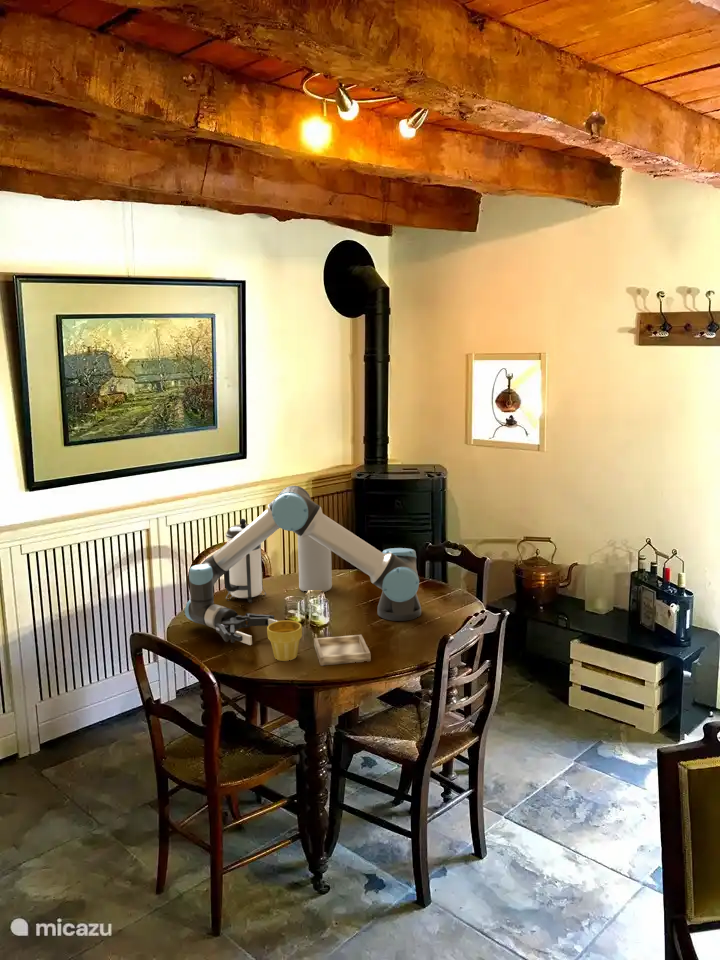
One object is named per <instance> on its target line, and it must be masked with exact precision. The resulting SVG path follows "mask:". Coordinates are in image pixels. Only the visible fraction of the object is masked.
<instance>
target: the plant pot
mask: <svg viewBox="0 0 720 960" xmlns="http://www.w3.org/2000/svg"><path fill="white" fill-rule="evenodd" d="M266 633H267V639H268V640H269V641H270V643H271V649H272V653H273V656H274V658H275V660H276V659H277V660H276V661H279V662H289V660H290V661H292V660H295V659H296V658H297V656H298V651H299V645H300V639H302V637H303V625H302V623H301V622H298V621H295V620H288V619H287V620H286V619H285V620H277V622H274V623H271V624H270V625H268V626H266Z"/></svg>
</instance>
